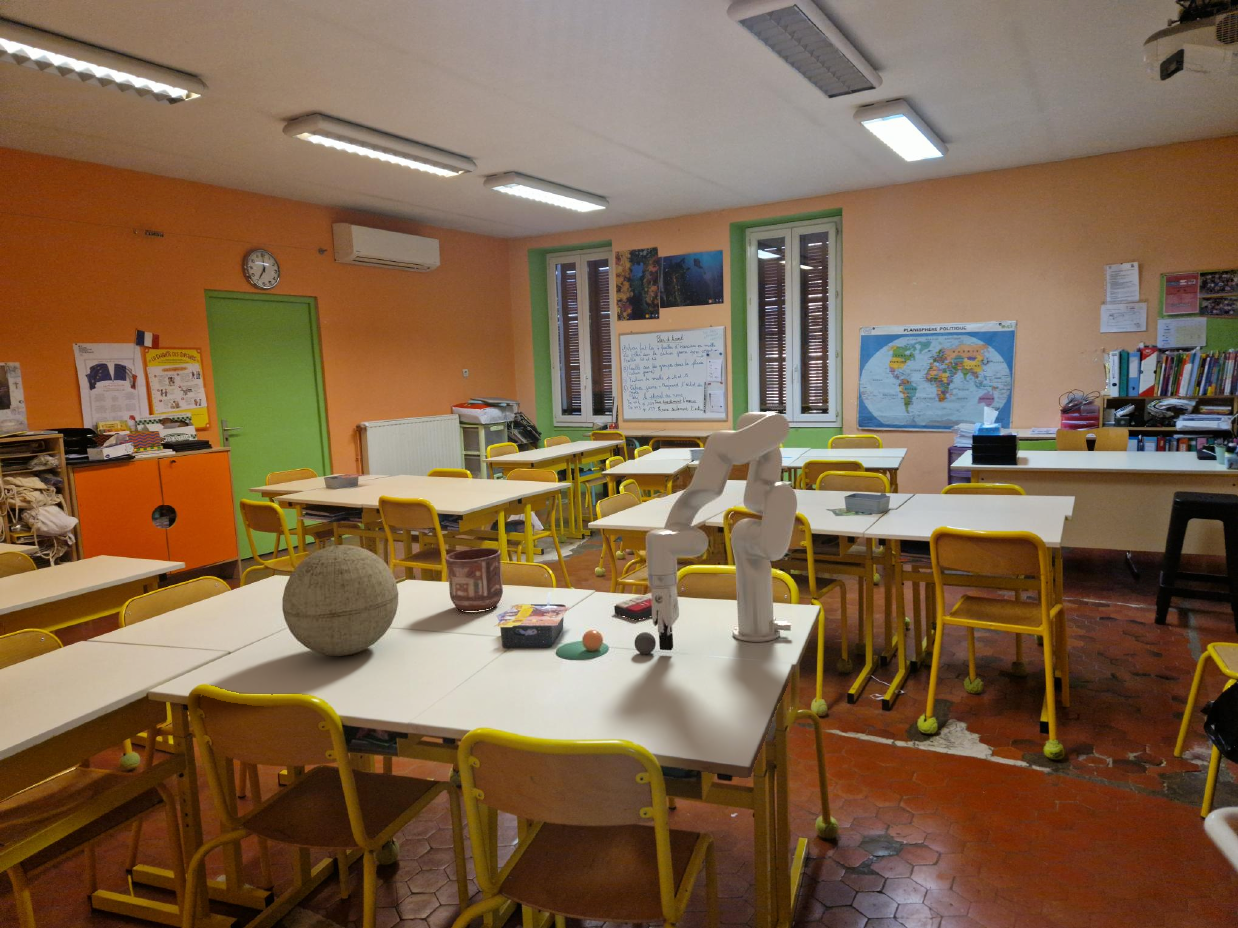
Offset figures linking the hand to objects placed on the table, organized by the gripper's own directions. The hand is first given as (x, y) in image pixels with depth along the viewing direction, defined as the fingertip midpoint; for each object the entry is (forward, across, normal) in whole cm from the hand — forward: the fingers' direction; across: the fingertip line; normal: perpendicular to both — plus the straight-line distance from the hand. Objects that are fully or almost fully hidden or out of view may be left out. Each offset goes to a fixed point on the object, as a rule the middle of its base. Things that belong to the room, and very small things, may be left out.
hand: (666, 648), depth 193 cm
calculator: (+2, +35, +15) cm, 38 cm away
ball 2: (-1, 0, +6) cm, 6 cm away
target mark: (+2, 0, +23) cm, 23 cm away
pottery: (+2, +33, +72) cm, 79 cm away
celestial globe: (+2, -11, +88) cm, 89 cm away
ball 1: (-1, 0, +20) cm, 20 cm away
